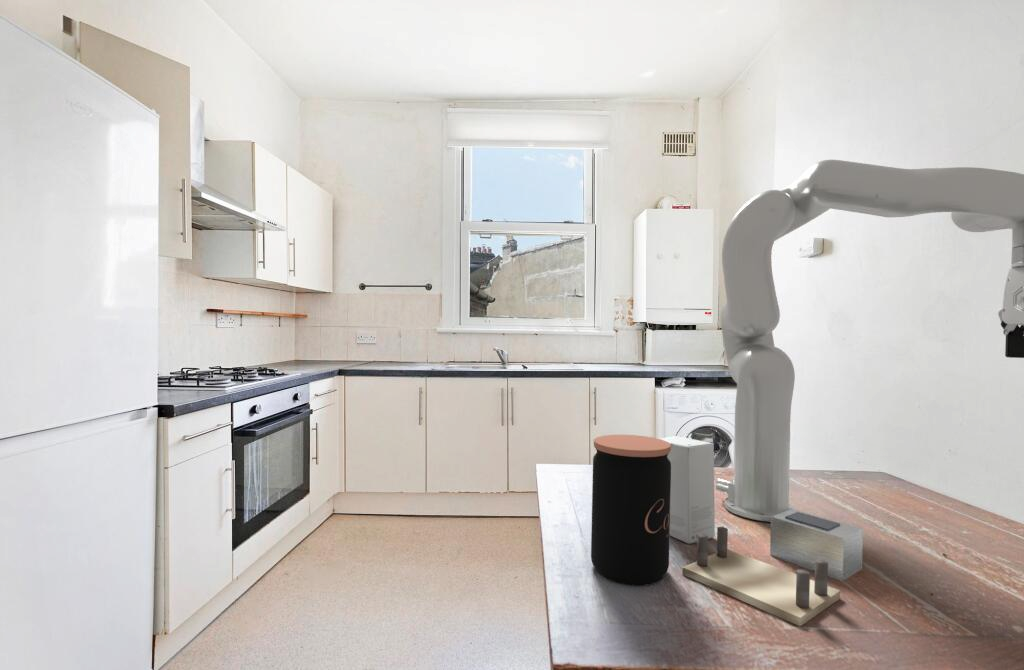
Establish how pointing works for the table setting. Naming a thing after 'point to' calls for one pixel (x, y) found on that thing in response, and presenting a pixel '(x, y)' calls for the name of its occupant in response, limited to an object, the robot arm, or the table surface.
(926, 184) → the robot arm
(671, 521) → the skincare box
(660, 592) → the table surface
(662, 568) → the coffee jar
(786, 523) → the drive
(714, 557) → the cream peg board
